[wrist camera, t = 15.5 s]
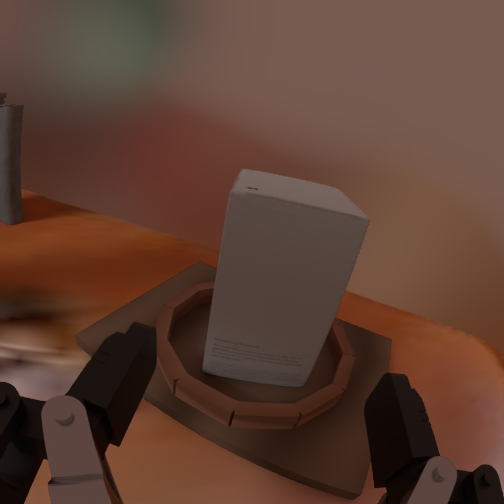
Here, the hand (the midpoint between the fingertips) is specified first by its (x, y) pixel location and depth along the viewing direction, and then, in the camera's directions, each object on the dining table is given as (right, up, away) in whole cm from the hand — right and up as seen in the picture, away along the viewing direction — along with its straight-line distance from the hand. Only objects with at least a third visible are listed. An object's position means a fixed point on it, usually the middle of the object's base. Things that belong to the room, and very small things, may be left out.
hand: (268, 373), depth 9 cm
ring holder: (-1, -4, +13) cm, 14 cm away
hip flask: (-43, +10, +26) cm, 51 cm away
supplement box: (0, -4, +13) cm, 14 cm away
